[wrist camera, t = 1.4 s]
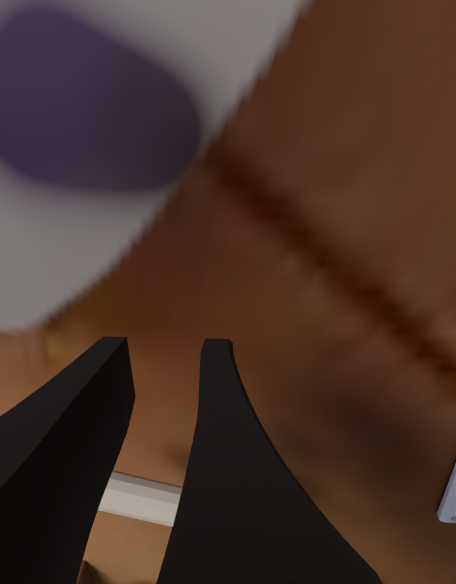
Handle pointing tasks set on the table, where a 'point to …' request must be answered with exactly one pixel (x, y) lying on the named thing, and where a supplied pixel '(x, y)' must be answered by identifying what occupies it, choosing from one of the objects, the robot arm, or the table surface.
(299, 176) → the table surface
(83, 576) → the grey metal fitting
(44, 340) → the table surface
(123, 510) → the pipe connector
